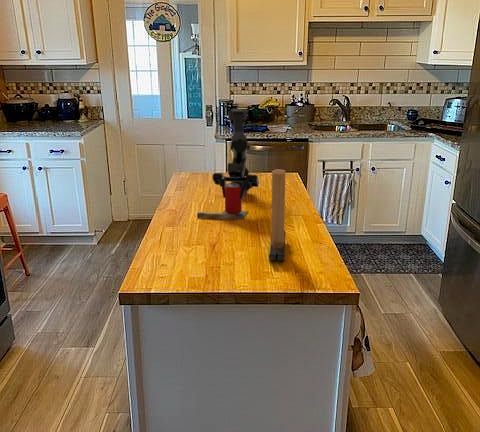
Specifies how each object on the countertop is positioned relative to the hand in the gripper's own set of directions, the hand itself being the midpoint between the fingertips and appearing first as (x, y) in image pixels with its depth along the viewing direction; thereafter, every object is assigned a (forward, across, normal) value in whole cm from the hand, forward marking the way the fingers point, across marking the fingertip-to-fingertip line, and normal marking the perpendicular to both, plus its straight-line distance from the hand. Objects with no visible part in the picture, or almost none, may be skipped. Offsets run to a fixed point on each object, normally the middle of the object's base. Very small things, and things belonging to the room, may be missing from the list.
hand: (232, 197), depth 194 cm
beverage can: (+4, 0, +6) cm, 7 cm away
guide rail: (+8, -6, +3) cm, 10 cm away
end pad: (+5, 0, +6) cm, 8 cm away
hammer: (+29, +24, -18) cm, 41 cm away
